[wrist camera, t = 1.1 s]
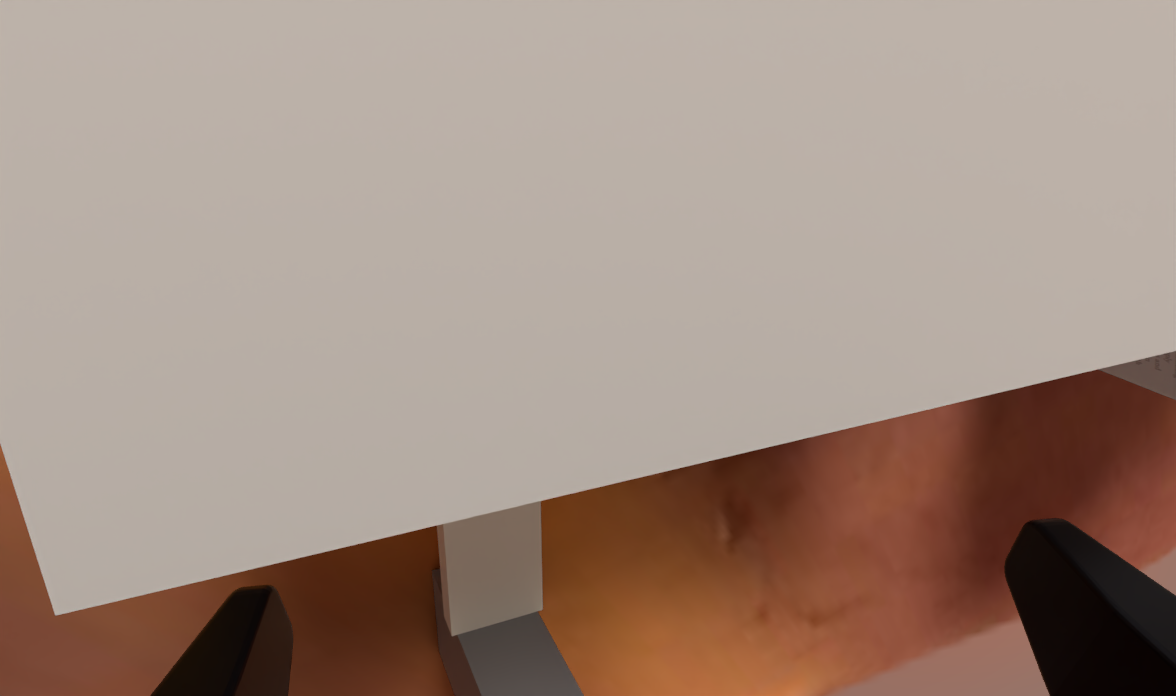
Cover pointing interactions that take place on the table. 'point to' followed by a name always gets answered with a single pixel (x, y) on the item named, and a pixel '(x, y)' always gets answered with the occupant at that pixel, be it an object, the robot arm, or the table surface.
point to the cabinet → (537, 248)
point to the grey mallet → (496, 608)
